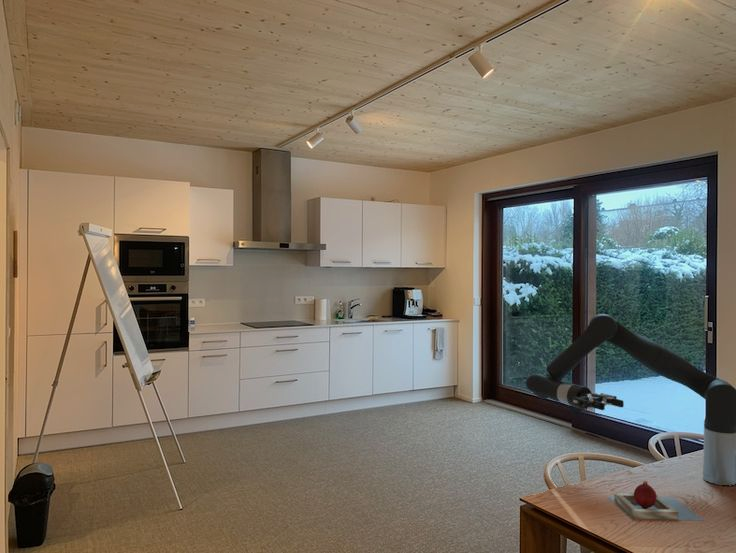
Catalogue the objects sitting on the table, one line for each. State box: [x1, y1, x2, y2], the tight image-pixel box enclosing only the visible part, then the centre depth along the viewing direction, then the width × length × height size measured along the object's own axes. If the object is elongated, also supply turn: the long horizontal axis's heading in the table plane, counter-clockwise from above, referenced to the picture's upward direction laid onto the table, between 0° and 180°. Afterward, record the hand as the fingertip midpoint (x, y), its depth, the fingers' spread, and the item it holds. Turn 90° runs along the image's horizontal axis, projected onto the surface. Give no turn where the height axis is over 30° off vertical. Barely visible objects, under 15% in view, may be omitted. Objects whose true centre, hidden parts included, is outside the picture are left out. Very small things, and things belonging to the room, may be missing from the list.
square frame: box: [614, 492, 678, 520], centre depth 155 cm, size 12×12×2 cm
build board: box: [607, 495, 705, 522], centre depth 156 cm, size 20×15×2 cm
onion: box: [633, 480, 658, 509], centre depth 155 cm, size 6×6×8 cm
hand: (613, 405), depth 173 cm, fingers open, 8 cm apart
